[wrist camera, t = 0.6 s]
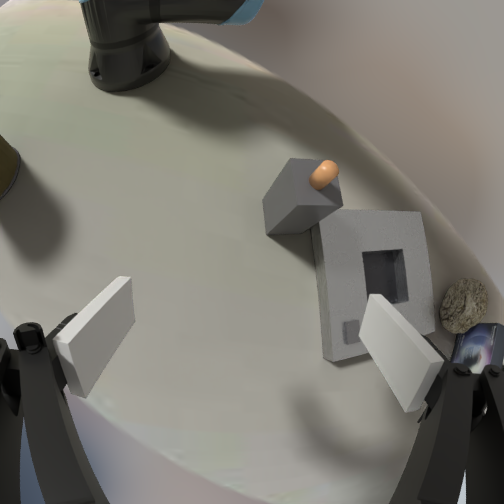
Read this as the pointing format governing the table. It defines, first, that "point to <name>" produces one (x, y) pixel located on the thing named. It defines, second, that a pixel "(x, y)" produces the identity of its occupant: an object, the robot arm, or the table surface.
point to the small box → (480, 346)
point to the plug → (301, 196)
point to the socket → (370, 273)
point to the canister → (7, 166)
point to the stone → (463, 305)
